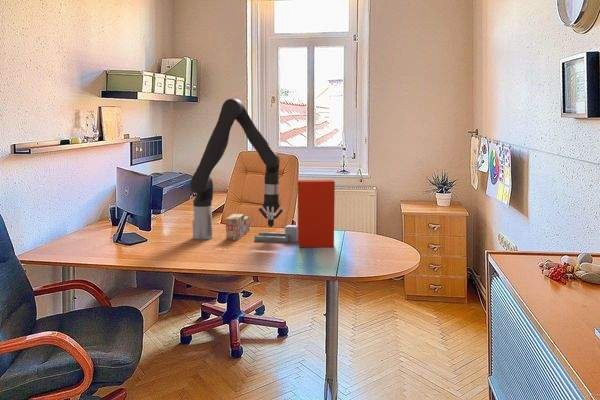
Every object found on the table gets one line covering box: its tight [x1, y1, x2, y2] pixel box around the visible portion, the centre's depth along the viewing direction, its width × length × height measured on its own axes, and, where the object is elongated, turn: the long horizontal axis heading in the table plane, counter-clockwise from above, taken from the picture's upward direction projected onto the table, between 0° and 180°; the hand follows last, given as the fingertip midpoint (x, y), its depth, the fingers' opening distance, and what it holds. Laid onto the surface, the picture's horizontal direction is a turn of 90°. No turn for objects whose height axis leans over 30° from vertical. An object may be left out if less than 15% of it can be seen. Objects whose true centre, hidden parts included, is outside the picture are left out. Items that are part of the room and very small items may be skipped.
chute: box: [253, 231, 291, 244], centre depth 246 cm, size 18×9×5 cm, turn 80°
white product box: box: [225, 213, 250, 241], centre depth 255 cm, size 21×6×12 cm, turn 170°
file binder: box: [297, 179, 336, 248], centre depth 236 cm, size 8×17×32 cm, turn 93°
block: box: [284, 224, 298, 243], centre depth 244 cm, size 6×6×7 cm
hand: (270, 226), depth 247 cm, fingers closed
